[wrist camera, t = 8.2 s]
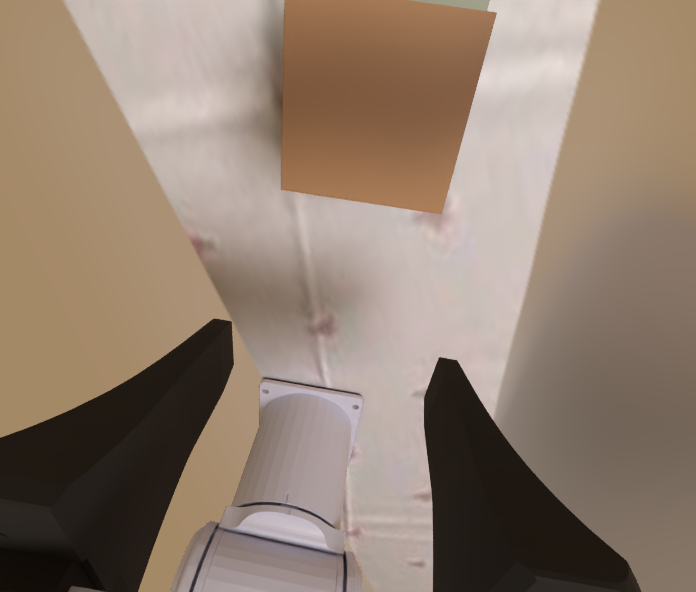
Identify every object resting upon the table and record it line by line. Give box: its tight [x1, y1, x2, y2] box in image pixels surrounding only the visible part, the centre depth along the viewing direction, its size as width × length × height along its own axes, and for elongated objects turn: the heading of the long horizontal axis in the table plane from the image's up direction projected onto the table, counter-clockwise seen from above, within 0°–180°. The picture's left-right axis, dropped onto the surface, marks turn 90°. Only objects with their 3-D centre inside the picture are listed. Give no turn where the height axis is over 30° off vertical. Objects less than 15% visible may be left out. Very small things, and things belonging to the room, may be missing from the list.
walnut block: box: [281, 0, 497, 214], centre depth 11 cm, size 4×4×5 cm
